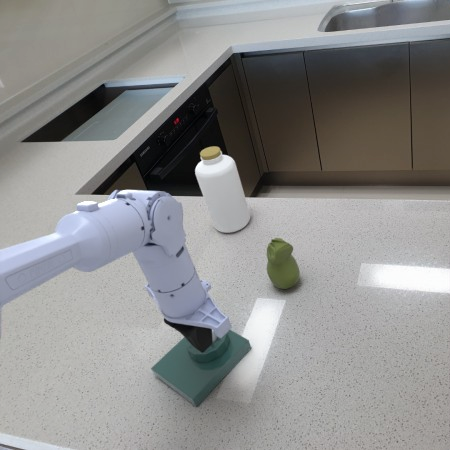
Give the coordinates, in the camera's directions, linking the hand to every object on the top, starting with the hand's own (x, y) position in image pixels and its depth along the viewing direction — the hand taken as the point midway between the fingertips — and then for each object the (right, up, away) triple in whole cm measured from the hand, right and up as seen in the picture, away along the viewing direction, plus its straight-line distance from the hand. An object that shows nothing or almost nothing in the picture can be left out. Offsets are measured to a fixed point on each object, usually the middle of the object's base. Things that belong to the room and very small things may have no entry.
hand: (204, 346), depth 64 cm
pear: (+11, +6, +19) cm, 23 cm away
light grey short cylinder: (-1, -1, +7) cm, 8 cm away
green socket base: (-2, -5, +8) cm, 10 cm away
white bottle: (-1, +17, +37) cm, 41 cm away
